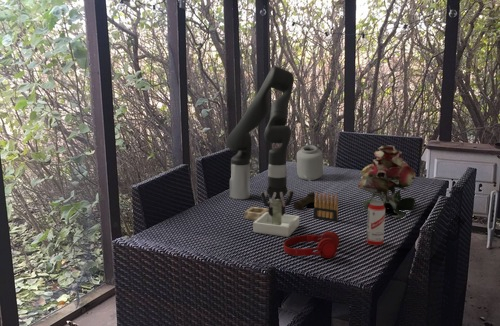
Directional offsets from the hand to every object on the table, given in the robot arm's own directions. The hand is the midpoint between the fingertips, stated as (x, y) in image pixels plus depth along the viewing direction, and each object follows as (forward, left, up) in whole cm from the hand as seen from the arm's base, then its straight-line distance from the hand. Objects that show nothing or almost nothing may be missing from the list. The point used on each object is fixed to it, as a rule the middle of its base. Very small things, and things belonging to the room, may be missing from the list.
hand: (276, 215), depth 204 cm
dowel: (0, 0, -4) cm, 4 cm away
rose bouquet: (+38, +45, -6) cm, 59 cm away
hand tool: (+2, +37, -6) cm, 38 cm away
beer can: (+40, -2, -6) cm, 41 cm away
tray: (0, 0, -6) cm, 6 cm away
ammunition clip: (+16, +19, -6) cm, 25 cm away
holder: (-13, +11, -6) cm, 18 cm away
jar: (-10, +86, -6) cm, 87 cm away
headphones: (+19, -18, -6) cm, 27 cm away
